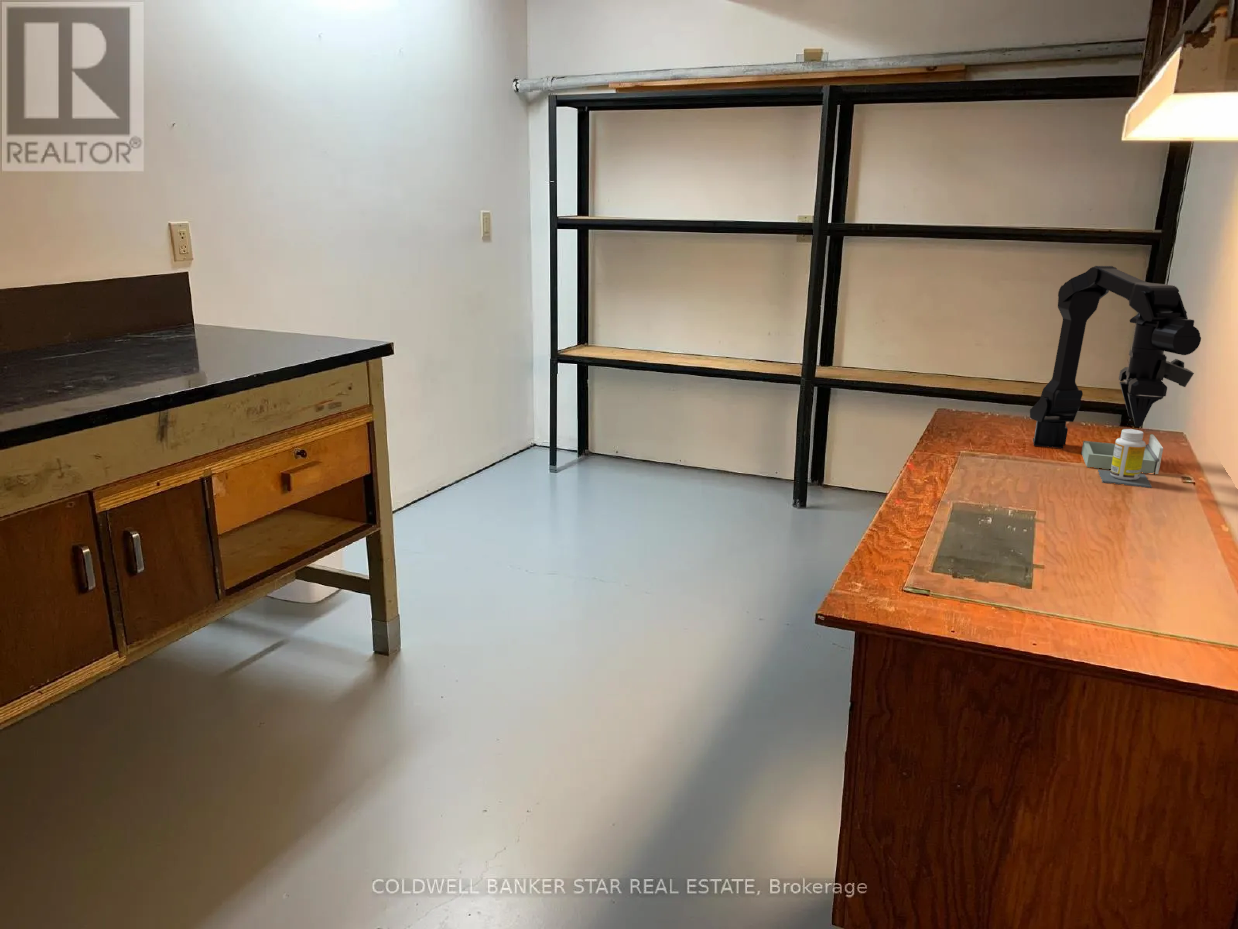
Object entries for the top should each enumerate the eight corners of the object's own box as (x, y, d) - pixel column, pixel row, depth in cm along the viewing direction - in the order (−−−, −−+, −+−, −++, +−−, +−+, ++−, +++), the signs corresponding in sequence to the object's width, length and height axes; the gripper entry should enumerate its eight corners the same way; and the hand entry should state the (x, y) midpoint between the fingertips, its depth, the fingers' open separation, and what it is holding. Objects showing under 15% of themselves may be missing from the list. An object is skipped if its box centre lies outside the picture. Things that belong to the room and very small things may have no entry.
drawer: (1086, 467, 192) (1091, 441, 190) (1081, 452, 203) (1085, 428, 202) (1158, 474, 187) (1163, 448, 185) (1148, 459, 198) (1153, 434, 197)
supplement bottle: (1143, 478, 183) (1152, 431, 180) (1132, 482, 180) (1141, 435, 177) (1115, 471, 187) (1124, 426, 184) (1104, 476, 184) (1113, 430, 181)
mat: (1102, 482, 181) (1102, 480, 181) (1097, 471, 189) (1098, 469, 189) (1151, 487, 178) (1151, 486, 178) (1144, 476, 186) (1144, 474, 186)
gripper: (1204, 356, 164) (1188, 435, 168) (1185, 344, 180) (1171, 416, 185) (1137, 352, 168) (1124, 430, 172) (1124, 340, 185) (1112, 411, 189)
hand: (1134, 421), depth 180 cm, fingers open, 9 cm apart
